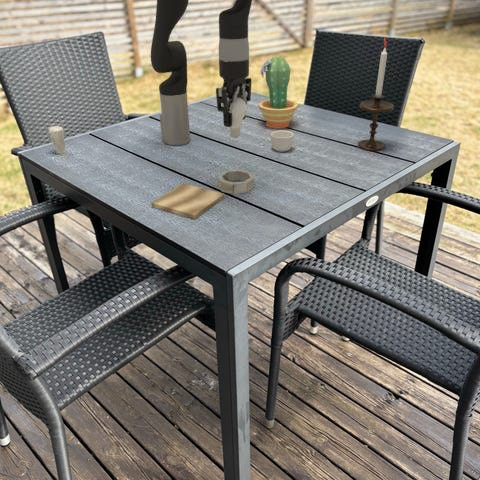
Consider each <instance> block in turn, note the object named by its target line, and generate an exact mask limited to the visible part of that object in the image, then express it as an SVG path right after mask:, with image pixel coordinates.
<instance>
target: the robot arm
mask: <svg viewBox="0 0 480 480" xmlns="http://www.w3.org/2000/svg"><path fill="white" fill-rule="evenodd" d="M252 3H253V0H235V3H234V4H233V6H232V7H230V8H228V9H224V10H222V11H220V13H219V16H218V34H219V36H218V37H219V39H218V66H219V67H218V68H219V69H218V72H219V73H218V74H219V76H220V78H222V79H223V82H222V83H223V84H222V86H221V87H216V88H215V96H216V97H215V98H216V107H217V112H222V113H223V115H222V118H223V126H224V127H228V128H230V127H231V126H232V113H231V112H232V108H233V105H234V104H235V102H236V99H237V98H242V99H243V100H244V101H245V103H246V106H247V105H248V102H250V101H251V97H252V96H251V94H252V78H251V77H249V75H250V45H249V16H250V12H251V7H252ZM188 5H189V0H156V9H155V10H156V11H155V22H154V29H153V35H152V40H151V47H150V62H151V66H152V69H153V70H154V72H156V73H158V74H166V73H171V74H170V75H169V77H167V78H166V79H165V80H163V81H162V82H161V83H160V84H159V85H158V92H159V101H160V110H161V114H159V124H160V134H161V141H162V142H164V143H165V144H166V145H169V146H182V145H186V144H188V143H190V142H191V133H190V130H191V129H190V117H189V104H188V103H189V102H188V58H187V57H188V56H187V51H186V47H185V45H184V44H183V42H182V41H180V40H172V41H170V37H171V35H172V32H173V30H174V29H175V27H176V26H177V24H178V23H179V21H180V20H181V18H182V17H183V15H184V14H185V12H186V11H187V7H188ZM227 99H232V100H227ZM228 103H229V108H228ZM246 117H247V115H245V116H244V118H243V120H245V119H246ZM243 120H242V121H243Z"/></svg>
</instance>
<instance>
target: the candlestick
mask: <svg viewBox="0 0 480 480" xmlns="http://www.w3.org/2000/svg"><path fill="white" fill-rule="evenodd" d="M383 42H384V43H383V47H384V48H383V50H382V51H381V53H380V59H379V68H378V74H377V81H376V88H375V94H374V95H371V97H372V98H374V99H371V100H362V101H361V102H359V108H360V109H361V110H363V111H364V112H370V113H373V115H372V116H373V117H372V122H371V123H369V127H370V130H369V131H368V133H369V134H370V137H369V139H362V140H359V141H358V142H357V148H358V149H360V150H363V151H366V152H381V151H383V150H384V149H385V148H386V144H385V143H384V142H383V141H380V140H376V139H375V136H376V134H377V133H378V132H377V130H376V129H378V127H379V123H377V122H378V115H379V114H381V113H383V114H384V113H389V112H392V111H394V108H395V104H394V103H392V102H389V101H387V100H386V101H385V100H382V99H384V98H385V96H384V95H383V94H382V93H383V88H384V87H383V86H384V78H385V73H386V65H387V60H388V52H387V45H388V44H387V39H386V37H384V38H383Z"/></svg>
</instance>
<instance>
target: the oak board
mask: <svg viewBox="0 0 480 480" xmlns="http://www.w3.org/2000/svg"><path fill="white" fill-rule="evenodd" d="M223 199H225V193H224V192H223V193H222V192H219V191H215V190H211V189H207V188H203V187H200V186H195V185H190V184H188V183H187V184H186V183H181V184H180V185H178V186H176V187H175V188H173V189H171V190H170V191H168V192H167V193H164V195H162V196H159V198H157V199H155V200H153V201H152V202H151V207H152V208H154V209H157V210H162V211H164V212H167V213H171V214H176V215H178V216H182V217H186V218H189V219H192V220H197V219H198V218H199V217H200V216H201V215H203V214H204V213H205V212H206V213H207V211H209V210H210V209H211V208H212V207H214V206H215V205H217V204H218V203H219V202H221V201H222V200H223Z"/></svg>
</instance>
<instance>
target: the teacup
mask: <svg viewBox="0 0 480 480" xmlns="http://www.w3.org/2000/svg"><path fill="white" fill-rule="evenodd" d="M294 134H295V133H293V131H289V130H284V129H283V130H274V131H272V132H271V134H270V144H271V145H270V146H271V147H272V148H273V150H275V151H276V152H282V153H283V152H287V151H289V150H291V148H292V147H293V145H294V139H295V138H294V137H295V136H294Z"/></svg>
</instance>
